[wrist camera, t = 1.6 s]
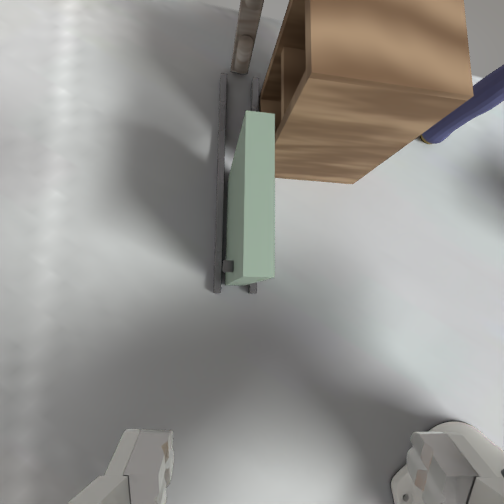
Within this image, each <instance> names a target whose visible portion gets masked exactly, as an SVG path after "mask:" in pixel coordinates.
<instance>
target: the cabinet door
mask: <svg viewBox="0 0 504 504" xmlns="http://www.w3.org/2000/svg"><path fill="white" fill-rule="evenodd" d="M223 272H225V285H248V284H252V283H255V282H259V281H263V280H267V279H270V278H274V277H275V114H272V113H264V112H255V111H247V110H246V112H245V116H244V120H243V124H242V127H241V131H240V135H239V139H238V143H237V147H236V151H235V154H234V158H233V162H232V166H231V170H230V174H229V177H228V184H227V222H226V260H223Z"/></svg>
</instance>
